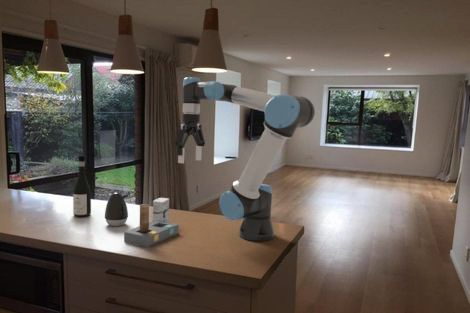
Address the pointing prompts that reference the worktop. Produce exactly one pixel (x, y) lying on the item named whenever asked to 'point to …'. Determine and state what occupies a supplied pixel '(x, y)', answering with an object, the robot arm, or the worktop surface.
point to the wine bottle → (81, 192)
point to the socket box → (151, 233)
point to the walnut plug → (144, 218)
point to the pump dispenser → (116, 210)
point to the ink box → (161, 209)
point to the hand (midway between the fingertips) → (190, 161)
